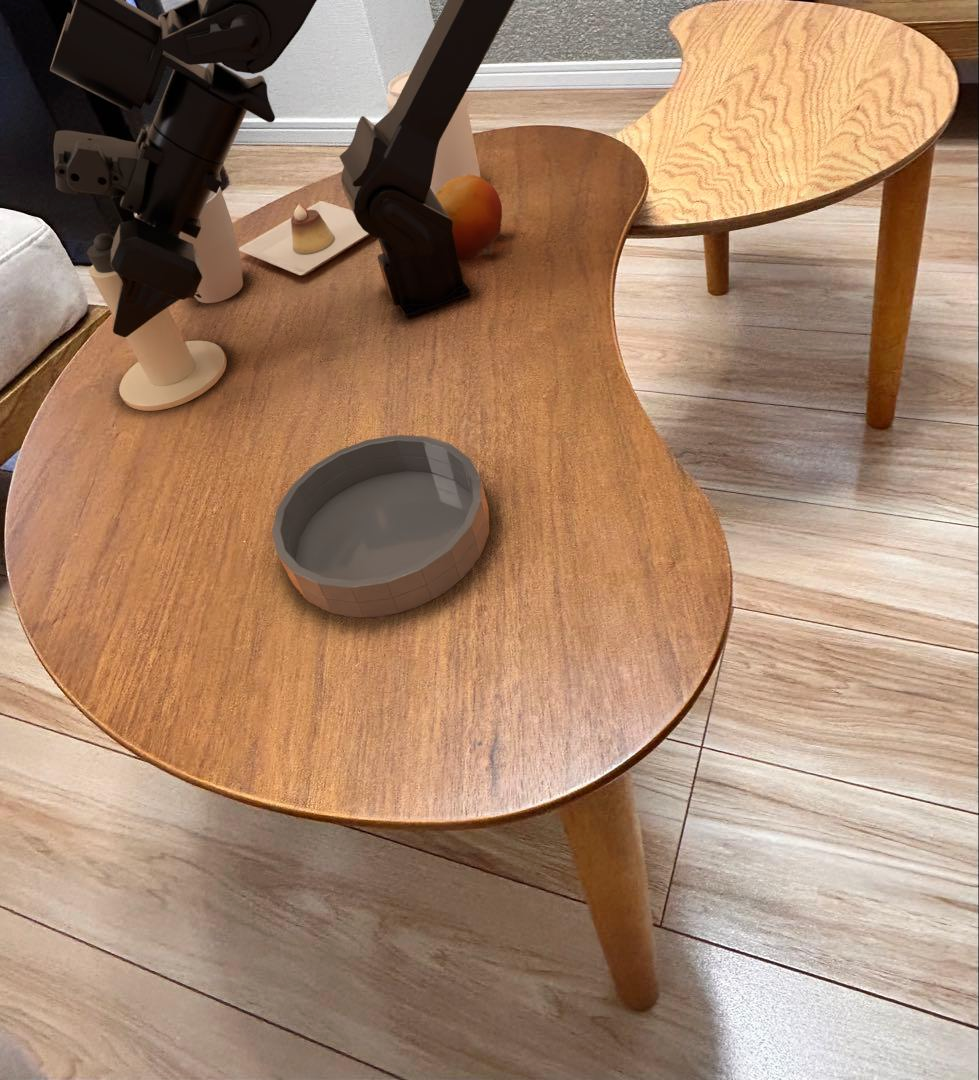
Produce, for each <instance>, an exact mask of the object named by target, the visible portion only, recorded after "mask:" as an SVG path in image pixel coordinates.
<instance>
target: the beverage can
mask: <svg viewBox="0 0 979 1080" xmlns="http://www.w3.org/2000/svg"><path fill="white" fill-rule="evenodd" d="M412 70H413V69H412ZM412 70H408V71H406V72H404V73H402V74H400V75H398V76H396V77H394V78H392V79H391V81H390V82H389V83H388V85H387V90H388V94H387V98H386V105H387V108H388V113H389V112H390V111H391V110H392V108H393V107H394V105H395V104H396V102H397V100H398V98H399V96H400V94H401V92H402V90H403V88H404V86H405V84H406V82H407V80H408V78H409V76H410V74H411V72H412ZM480 171H481V170H480V167H479V161H478V157H477V150H476V145H475V139H474V135H473V129H472V125H471V119H470V113H469V108H468V102H467V98H466V93H465V94H464V96H463V98H462V100H461V102H460V104H459V106H458V107H457V109H456V111H455V113H454V115H453V117H452V119H451V120H450V122H449V124H448V126H447V128H446V130H445V131H444V133H443V135H442V137H441V139H440V141H439V144H438V148H437V153H436V159H435V164H434V170H433V176H432V181H431V186H430V188H431V190H432V191H433V193H434V194H436V193H437V192H438V191H439V190H440V189H441V188H442V187H443V185H445V184H446V183H448V182H449V181H450V180H452V179H454V178H457V177H460V176H466V175H475V176H478V177H481V172H480ZM481 178H482V177H481Z"/></svg>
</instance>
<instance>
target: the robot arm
mask: <svg viewBox="0 0 979 1080" xmlns="http://www.w3.org/2000/svg"><path fill="white" fill-rule="evenodd" d="M317 1H318V0H188V1H185V2H184V3H181V4H180V5H178V6H176V7H174V8H170V9H169V10H167V11H165V12H163V13H161V14H159V15H158V18H156V17H153V16H152V15H150V14H148V13H147V12H145V11H143V10H141V9H139V8H138V7H137V6H135V5H132V4H131V3H129V2H128V1H126V0H75V1H74V3H73V7H72V10H71V13H70V12H67V13H66V18H65V20H64V23H63V27H62V30H61V33H60V36H59V39H58V41H57V44H56V47H55V51H54V54H53V58H52V61H51V64H50V67H49V72H51V73H53V74H56V75H57V76H59V77H61V78H62V79H65V80H67V81H69V82H71V83H72V84H75V85H76V86H78V87H81V88H82V89H84V90H86V91H88V92H89V93H92V94H94V95H96V96H98V97H99V98H102V99H103V100H106V101H107V102H110V103H112V104H113V105H116V106H117V107H120V108H121V109H123V110H125V111H127V112H129V113H130V112H131V111H132V109H133V108H134V107H136V108H137V109H139V110H142V108H143V105H145V106H146V107H150V106H151V105H152V103H153V101H154V100H155V97H156V95H157V93H158V90H159V88H160V84H161V82H162V79H163V76H164V73H165V71H166V69H167V67H169V68H171V69H172V73H171V75H170V77H169V80H168V82H167V85H166V87H165V90H164V92H163V95H162V98H161V100H160V103H159V105H158V108H157V111H156V113H155V115H154V118H153V121H152V123H151V126H149V125H146V127H145V129H144V128H140V131H139V134H138V136H137V139H136V141H130V140H124V139H120V138H117V137H114V136H108V135H101V134H95V133H88V132H80V131H74V130H65V129H64V130H57V131H56V132H55V135H54V139H53V145H52V147H53V159H54V160H53V163H54V174H55V188H56V189H57V190H58V191H60V192H61V193H65V194H70V195H77V194H78V193H84V194H91V195H99V196H107V197H111V202H112V204H113V206H114V208H115V210H116V212H117V214H118V216H119V218H120V220H121V223H119V225H118V227H117V229H116V232H115V234H114V236H113V237H114V241H113V244H112V248H111V249H110V264H111V267H112V269H113V270H114V271H115V272H116V273H117V274H118V275H119V277H120V279H121V280H122V282H121V287H120V293H119V298H118V304H117V309H116V314H115V318H114V322H113V325H112V333H113V334H114V335H117V336H119V337H122V338H125V337H127V336H129V335H130V334H131V333H133V332H134V331H135V330H137V329H138V328H139V327H141V326H142V325H144V324H145V323H146V322H148V321H149V320H150V319H152V318H153V317H154V316H156V315H157V314H159V313H160V312H161V311H163V310H164V309H166V308H169V307H171V306H173V305H174V304H176V303H177V302H179V301H180V300H181V301H183V300H184V301H185V300H186V299H193V298H195V297H194V295H195V293H196V291H197V289H198V286H199V284H200V282H201V280H202V278H203V277H202V270H201V263H200V258H199V256H198V254H197V252H196V249H195V247H194V245H193V244H192V243H189V242H187V241H185V240H183V239H180V238H179V234H180V232H183V233H185V234H187V235H189V236H192V237H194V238H197V236H198V234H199V232H200V230H201V223H200V216H201V213H202V211H203V209H204V207H205V204H206V202H207V200H208V198H209V195H210V193H211V191H213V192H215V193H217V191H218V189H219V187H220V188H221V185H222V182H223V181H222V177H221V170H222V169H223V166H224V164H225V161H226V159H227V157H228V154H229V152H230V150H231V147H232V146H233V143H234V141H235V139H236V136H237V134H238V133H239V130H240V127H241V125H242V124H243V121H244V118H245V116H246V114H247V113H248V112H249V113H251V114H253V115H254V116H256V117H258V118H260V119H261V120H263V121H265V122H267V123H269V124H270V123H273V122H274V121H275V119H276V115H275V113H274V110H273V108H272V105H271V102H270V100H269V94H268V84H267V82H266V80H265V77H264V76H263V75H257V76H255V77H251V78H244V76H243V77H242V76H241V75H239V74H238V73H245V74H251V75H255V74H260V73H262V72H264V71H266V70H267V69H269V68H270V67H272V66H273V65H274V64H275V63H276V62H277V60H278V59H279V58H280V56H281V55H282V54H283V53H284V52H285V50H286V49H287V47H288V46H289V44H290V43H291V42H292V41H293V39H294V38H295V37H296V35H297V34H298V33H299V31H300V30H301V29H302V27H303V25H304V24H305V22H306V20H307V18H308V17H309V15H310V13H311V12H312V9H313V8H314V6H315V4H316V2H317ZM515 2H516V0H446V2H445V4H444V6H443V9H442V11H441V13H440V15H439V17H438V18H437V21H436V22H435V24H434V26H433V27H432V30H431V33H430V34H429V36H428V38H427V40H426V42H425V44H424V46H423V48H422V49H421V52H420V54H419V56H418V58H417V60H416V62H415V64H414V65H413V68H412V72H411V74H410V76H409V78H408V80H407V82H406V84H405V86H404V88H403V90H402V92H401V94H400V96H399V98H398V100H397V102H396V104H395V105H394V107H393V108H392V110H391V111H390V112H389V111H388V113H387V114H386V115H384V116H383V117H381V119H380V120H379V121H378V122H377V123H376V124H374V123H373V122H371V121H370V120H369V119H368V118H367V117H366V116H364V115H362V116H360V117H359V120H358V122H357V125H356V129H355V130H354V135H353V137H352V140H351V143H350V144H349V146H348V147H347V149H345V151H343V152H342V153H341V154H340V155H339V159H340V162H341V163H342V165H343V169H342V171H341V179H340V181H341V186H342V187H341V188H342V189H343V192H344V196H345V198H346V200H347V202H348V204H349V206H350V210H352V211H353V213H354V215H355V218H356V220H357V222H358V223H359V225H360V226H361V227H362V229H363V230H364V231H366V232H367V233H368V234H370V236H371V237H374V238H377V239H378V242H379V246H380V249H381V253H378V255H377V257H376V258H377V262H378V265H379V268H380V272H381V275H382V279H383V282H384V285H385V289H386V293H387V294H388V296H389V298H390V300H391V302H392V304H393V305H394V306H396V307H399V309H400V311H401V312H402V314H403V316H404V317H405V318H406V319H412V318H414V317H417V316H421V315H422V314H426V313H429V312H432V311H435V310H437V309H440V308H443V307H446V306H449V305H451V304H455V303H458V302H460V301H462V300H466V299H468V298H470V297H471V295H472V294H471V290H470V288H469V287H468V286H467V284H466V283H465V281H464V277H463V274H462V268H461V265H460V261H459V259H458V255H457V250H456V246H455V241H454V237H453V232H452V226H453V222H452V220H451V219H450V217H449V216H448V214H447V213H446V211H445V210H444V208H443V207H442V205H441V204H440V202H439V200H438V199H437V197H436V196H435V194H434V193H433V191H432V190H431V188H430V186H431V181H432V176H433V170H434V164H435V159H436V153H437V148H438V144H439V141H440V139H441V137H442V135H443V133H444V131H445V130H446V128H447V126H448V124H449V122H450V120H451V119H452V117H453V115H454V113H455V111H456V109H457V107H458V106H459V104H460V102H461V100H462V98H463V96H464V94H465V95H466V93H467V91H468V89H469V87H470V85H471V83H472V82H473V79H474V78H475V76H476V74H477V72H478V70H479V69H480V66H481V65H482V63H483V61H484V59H485V57H486V56H487V54H488V52H489V50H490V48H491V46H492V44H493V42H494V41H495V38H496V37H497V35H498V33H499V31H500V30H501V28H502V26H503V24H504V22H505V21H506V19H507V16H508V15H509V12H510V11H511V10H512V7H513V5H514V4H515ZM206 64H207V66H206V67H205V66H203V65H206ZM232 70H233V71H232ZM236 72H238V73H236Z"/></svg>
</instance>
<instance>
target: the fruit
mask: <svg viewBox="0 0 979 1080" xmlns="http://www.w3.org/2000/svg"><path fill="white" fill-rule="evenodd" d="M435 196H436V197H437V199H438V200H439V202H440V204H441V205H442V207H443V208H444V210H445V211H446V213H447V214H448V216H449V217H450V219H451V220H452V222H453V226H452V232H453V237H454V241H455V246H456V250H457V255H458V259H459V262H461V261H469V260H473V259H475V258H478V257H480V256H485V255H491V256H493V247H494V244H495V242H496V239H497V237H500V236H501V237H504V238H505V237H507V235H506V234H504V233H501V231H502V230H501V229H502V218H503V206H502V201H501V199H500V196H499V194H498V192H497V190H496V188H495V187H494V186H493V185H492V184H491V183H490V182H488V181H487V180H485V179H484V178H483V177H478V176H475V175H466V176H460V177H457V178H454V179H452V180H450V181H449V182H448V183H446V184H445V185H443V187H442V188H441V189H440V190H439V191H438V192H437V193H436V194H435Z"/></svg>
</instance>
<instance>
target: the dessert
mask: <svg viewBox="0 0 979 1080" xmlns="http://www.w3.org/2000/svg"><path fill="white" fill-rule="evenodd" d="M295 205H297V206H296V208H294V209H295V210H294V211H293V216H292V217H290V218H289V219H287V220H285V221H283V222H281V223H280V224H278V225H276V226H274V227H272V228H271V229H269V230H267V231H266V232H263V233H262V234H260V235H259V236H257V237H255V238H253V239H251V240H250V241H248V242H246V243H245V244H243V245H242V246H239V247H238V248H239V252H240V253H241V252H242V253H244V254H246V255H249V256H251V257H254V258H256V259H259V260H261V261H264V262H266V263H268V264H270V265H272V266H276V267H278V268H281V269H283V270H285V271H288V272H290V273H293V274H296V275H298V276H306V275H308V274H310V273H312V272H314V271H315V270H317V269H319V268H320V267H322V266H323V265H325V264H326V263H328V262H329V261H331V260H333V259H334V258H336V257H338V256H339V255H341V254H343V253H344V252H346V251H347V250H349V249H350V248H353V247H354V246H356V245H357V244H358V243H360V242H362V241H364V240H365V239H367V238H368V237H370V236H371V235H370V234H368V233H367V232H366V231H364V230H363V229H362V227H361V226H360V225H359V223H358V222H357V220H356V218H355V215H354V213H353V211H352V209H349V208H347V207H346V208H345V207H343V206H339V205H336V204H333V203H329V202H326V201H323V200H320V201H317V202H316V203H314V204H313V205H311V206H309V207H305V206H302V205H301V203H297V202H295Z"/></svg>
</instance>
